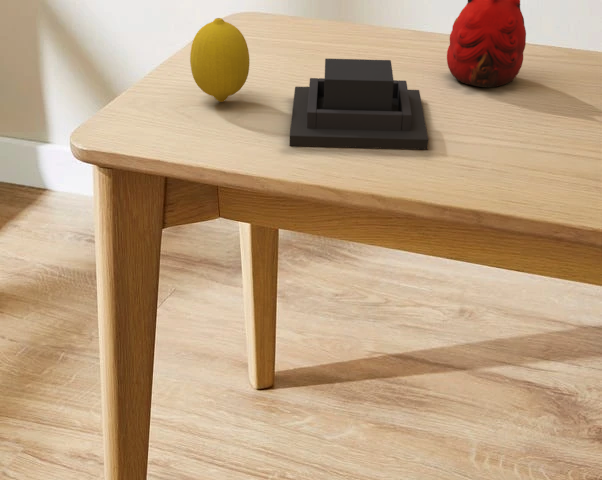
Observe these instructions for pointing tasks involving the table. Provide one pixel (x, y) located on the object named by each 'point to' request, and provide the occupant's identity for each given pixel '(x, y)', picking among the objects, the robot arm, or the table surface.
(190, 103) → the table surface
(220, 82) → the lemon
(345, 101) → the plug pad
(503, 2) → the red clay folk toy
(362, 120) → the socket pad
